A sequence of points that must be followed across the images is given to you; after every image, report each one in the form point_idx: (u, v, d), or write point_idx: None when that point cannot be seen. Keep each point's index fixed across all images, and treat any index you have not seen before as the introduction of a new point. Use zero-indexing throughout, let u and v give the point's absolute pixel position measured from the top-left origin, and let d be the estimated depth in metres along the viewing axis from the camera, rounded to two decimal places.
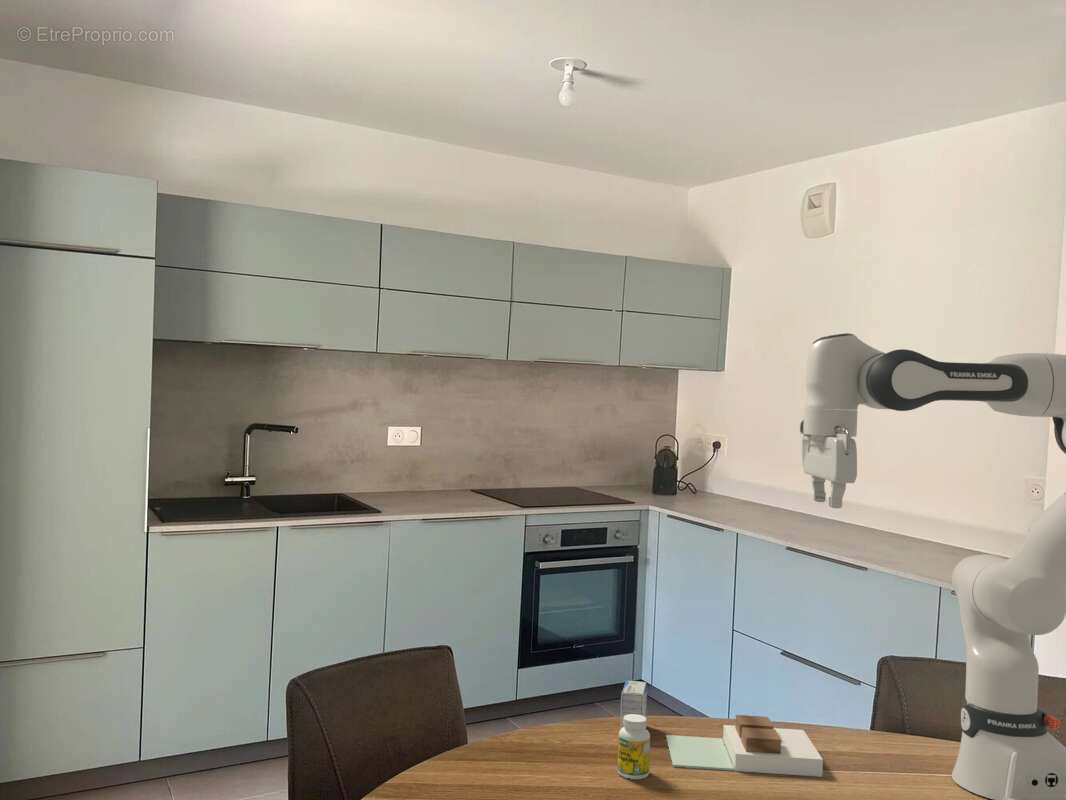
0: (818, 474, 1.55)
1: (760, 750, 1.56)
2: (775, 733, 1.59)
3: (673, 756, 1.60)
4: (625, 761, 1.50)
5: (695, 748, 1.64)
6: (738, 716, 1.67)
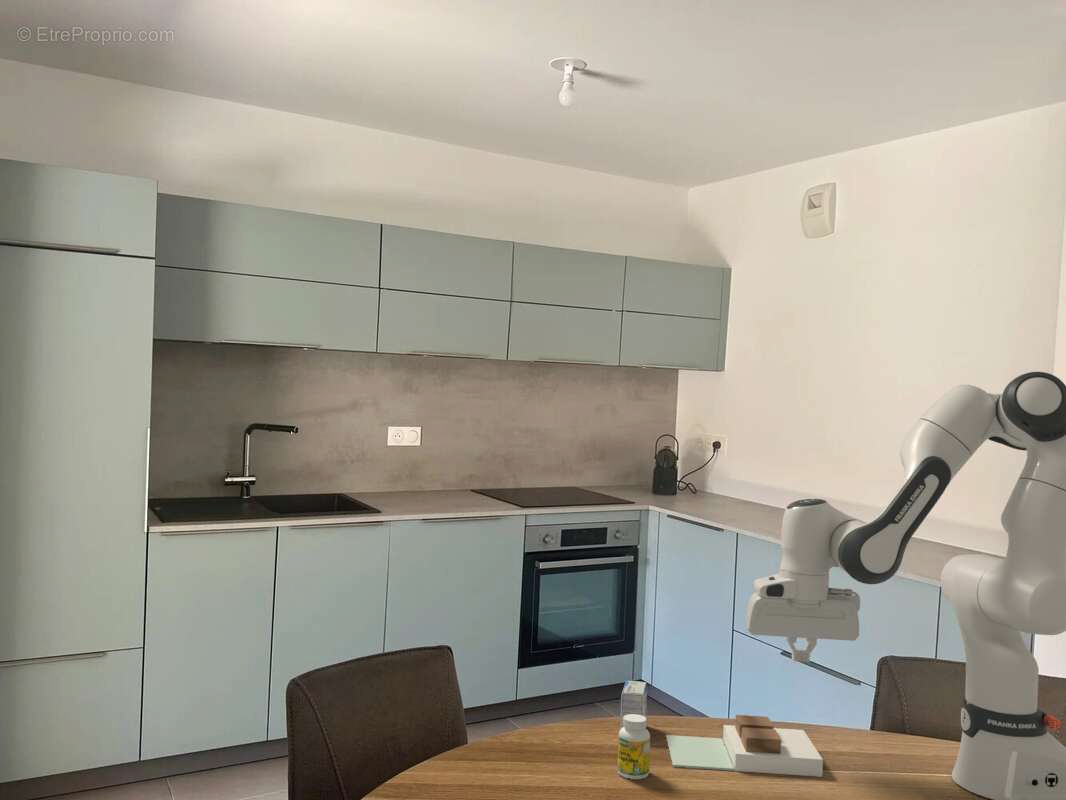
0: (805, 635, 1.63)
1: (760, 750, 1.56)
2: (775, 733, 1.59)
3: (673, 756, 1.60)
4: (625, 761, 1.50)
5: (695, 748, 1.64)
6: (738, 716, 1.67)
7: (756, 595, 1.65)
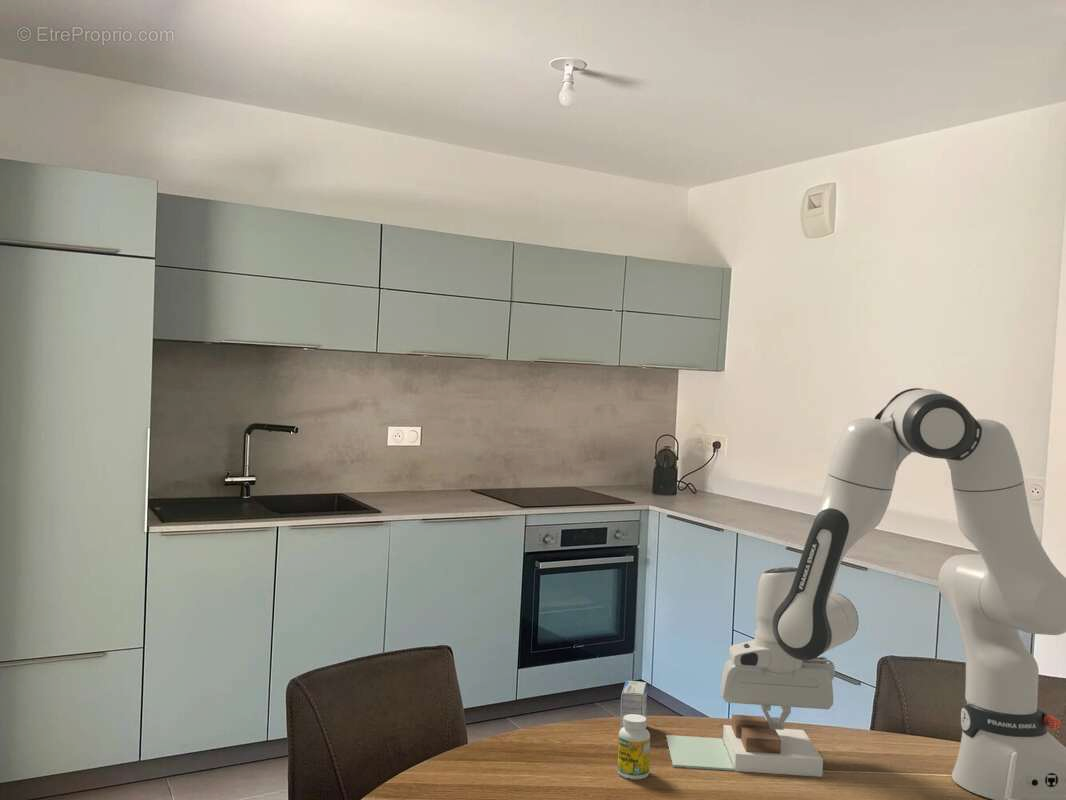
0: (779, 703, 1.63)
1: (760, 750, 1.56)
2: (775, 733, 1.59)
3: (673, 756, 1.60)
4: (625, 761, 1.50)
5: (695, 748, 1.64)
6: (734, 716, 1.67)
7: (731, 662, 1.66)
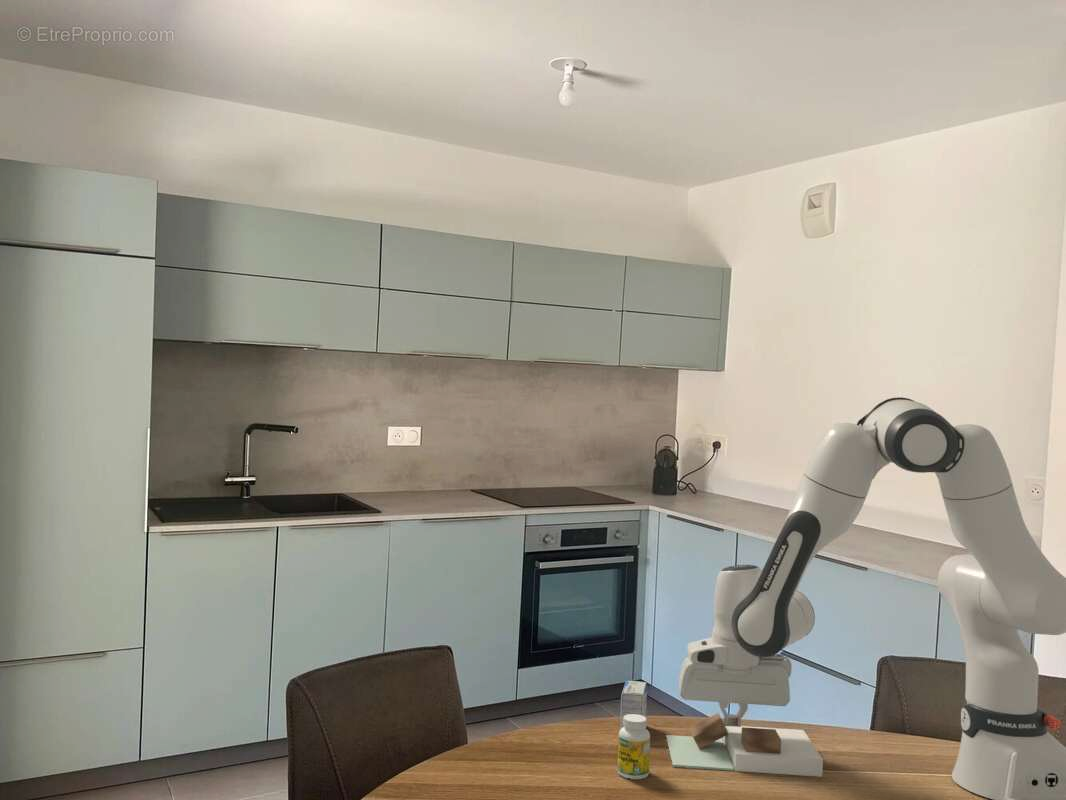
0: (736, 700, 1.64)
1: (760, 750, 1.56)
2: (775, 733, 1.59)
3: (673, 756, 1.60)
4: (625, 761, 1.50)
5: (695, 748, 1.64)
6: (692, 728, 1.68)
7: (688, 659, 1.66)
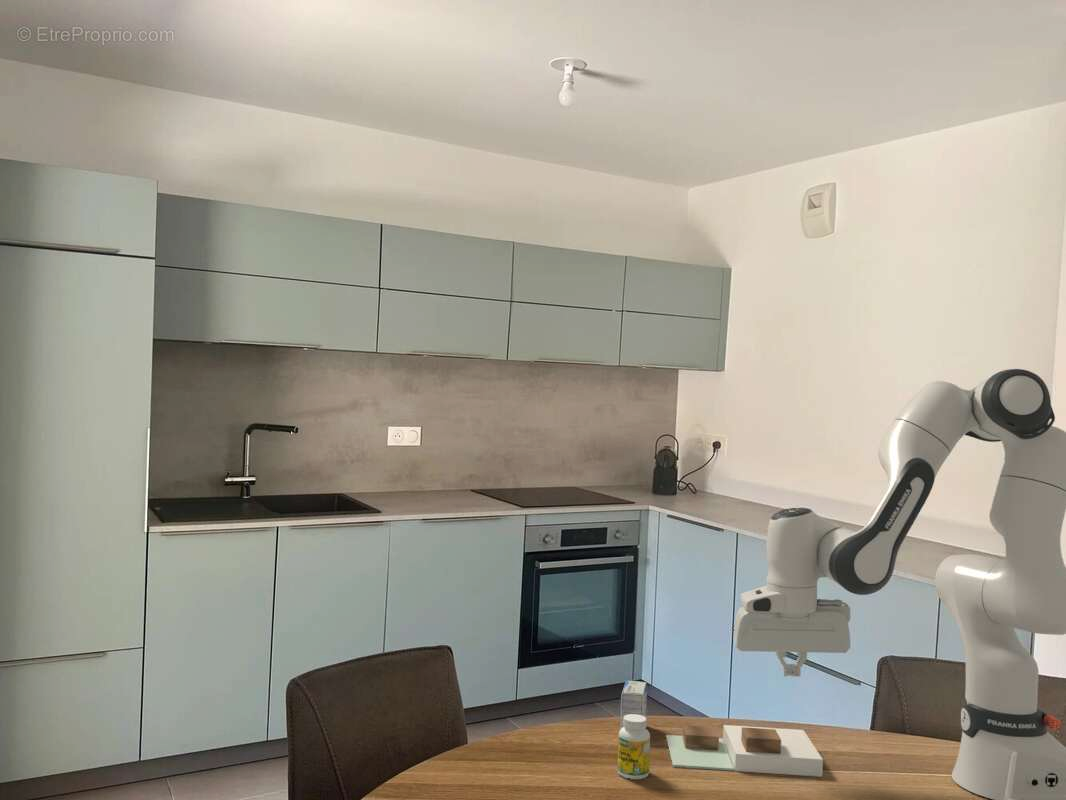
0: (795, 649, 1.58)
1: (760, 750, 1.56)
2: (775, 733, 1.59)
3: (673, 756, 1.60)
4: (625, 761, 1.50)
5: None
6: (685, 726, 1.68)
7: (743, 610, 1.60)
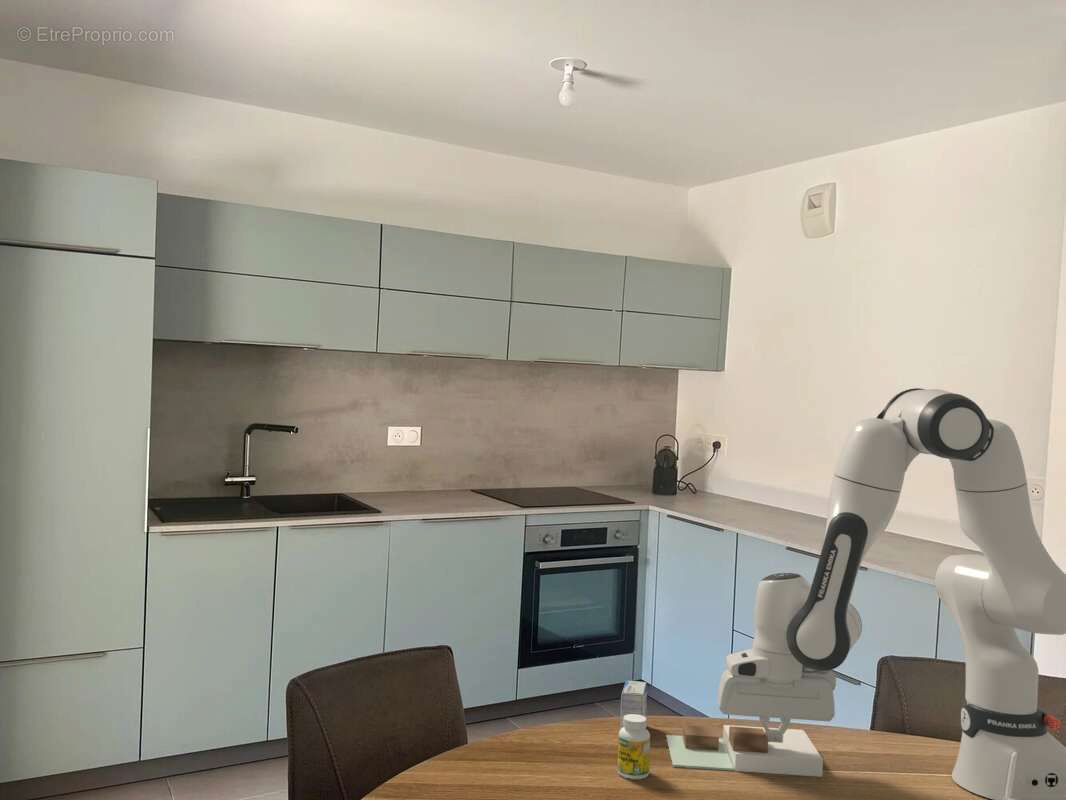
0: (778, 715, 1.57)
1: (747, 749, 1.56)
2: (762, 732, 1.59)
3: (673, 756, 1.60)
4: (625, 761, 1.50)
5: None
6: (685, 726, 1.68)
7: (728, 672, 1.59)
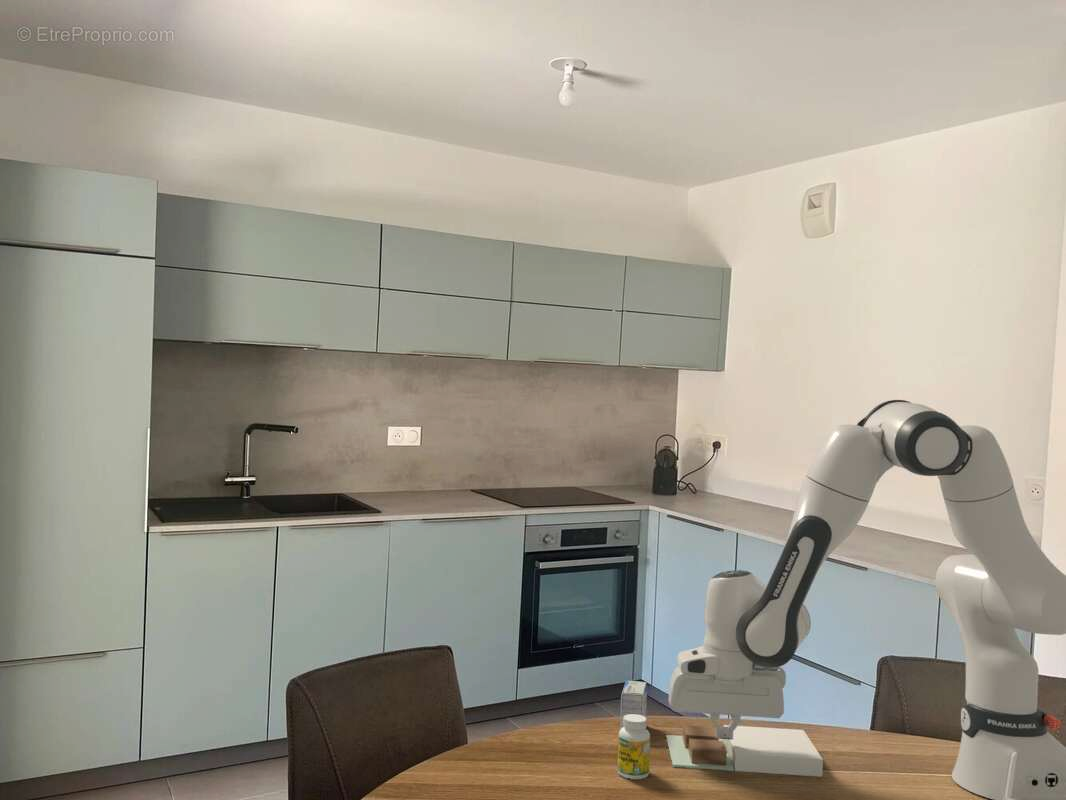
0: (728, 712, 1.57)
1: (706, 762, 1.57)
2: (722, 744, 1.59)
3: (673, 756, 1.60)
4: (625, 761, 1.50)
5: None
6: (685, 726, 1.68)
7: (679, 669, 1.60)
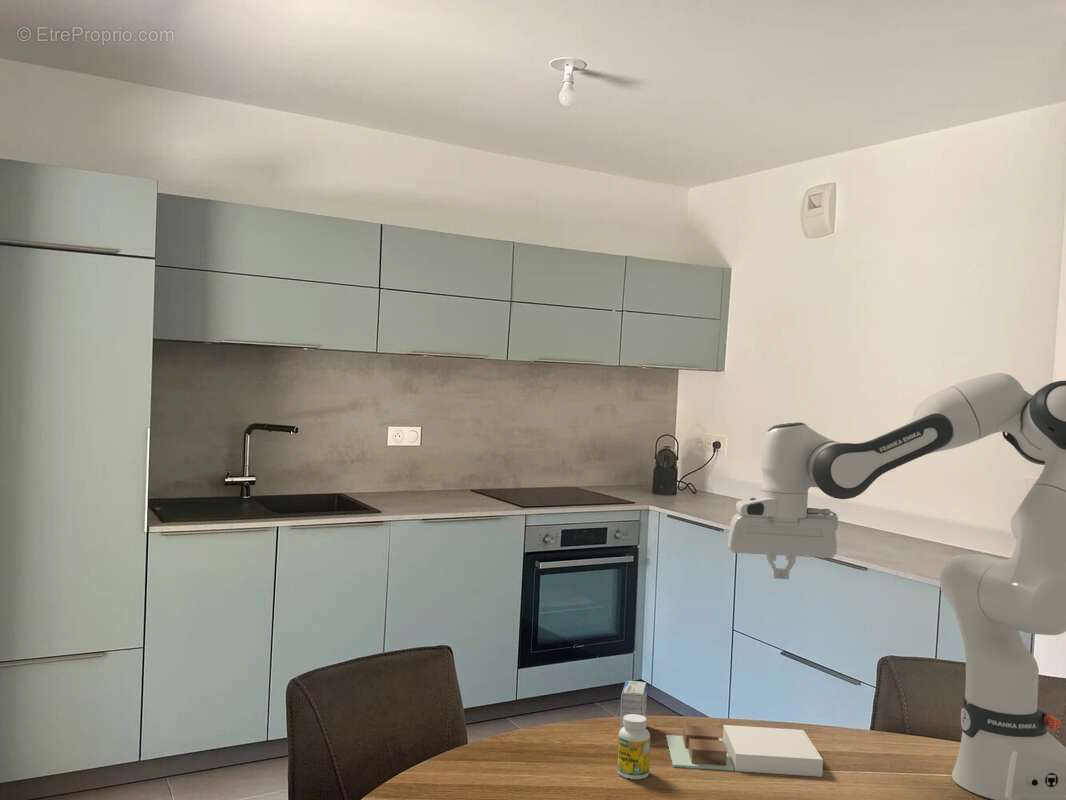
0: (785, 552, 1.69)
1: (706, 762, 1.57)
2: (722, 744, 1.59)
3: (673, 756, 1.60)
4: (625, 761, 1.50)
5: None
6: (685, 726, 1.68)
7: (737, 515, 1.71)
